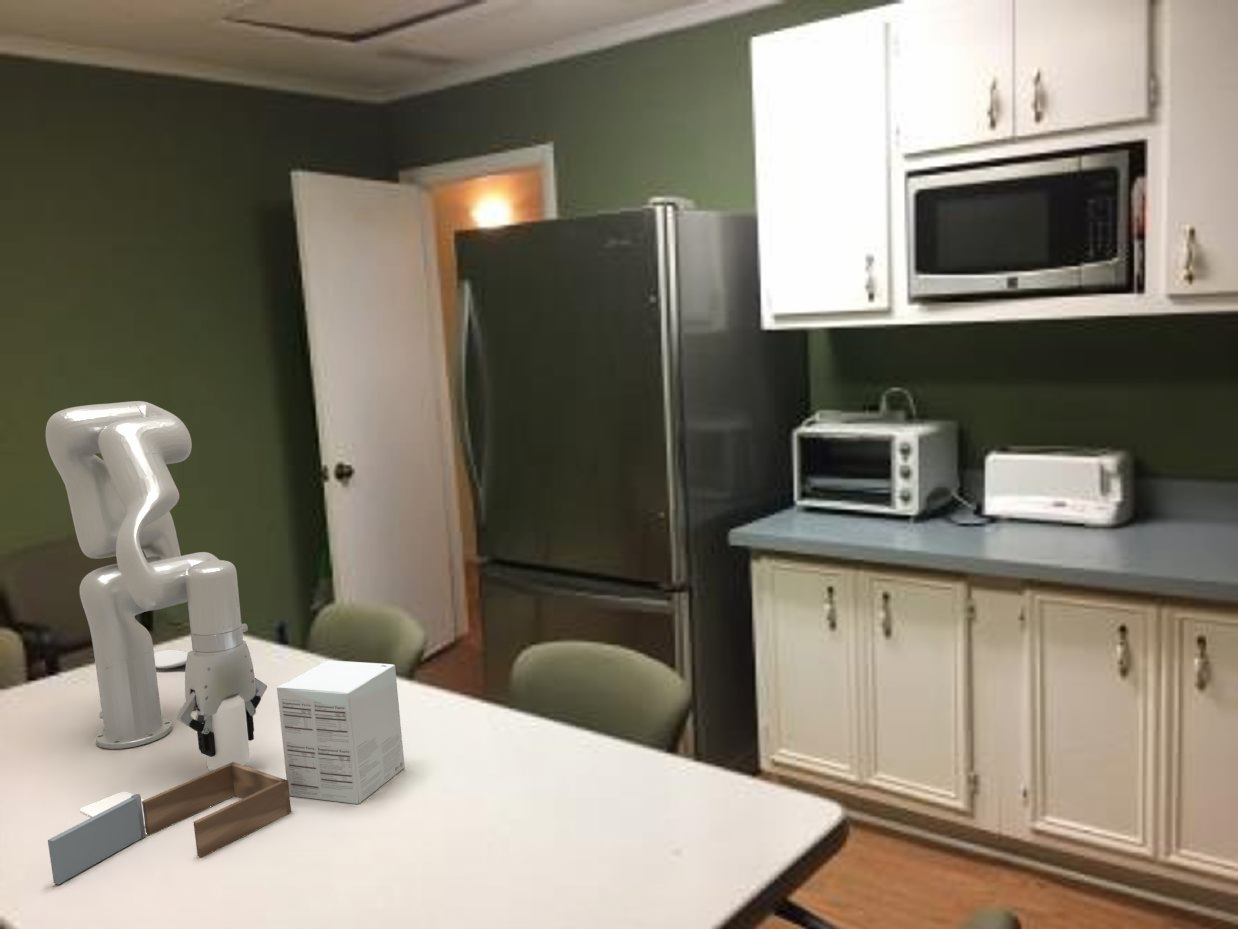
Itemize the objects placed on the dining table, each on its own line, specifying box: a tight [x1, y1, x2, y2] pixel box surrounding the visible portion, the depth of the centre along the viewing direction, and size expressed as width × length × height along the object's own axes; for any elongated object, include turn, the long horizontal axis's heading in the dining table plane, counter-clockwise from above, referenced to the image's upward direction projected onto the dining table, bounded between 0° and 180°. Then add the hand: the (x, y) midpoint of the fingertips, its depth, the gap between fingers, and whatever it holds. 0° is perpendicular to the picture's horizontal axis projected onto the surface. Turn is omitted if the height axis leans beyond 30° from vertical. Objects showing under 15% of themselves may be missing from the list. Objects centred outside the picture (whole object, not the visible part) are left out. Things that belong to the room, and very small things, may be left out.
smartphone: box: [79, 791, 145, 826], centre depth 155 cm, size 7×1×15 cm
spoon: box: [154, 649, 189, 669], centre depth 219 cm, size 9×32×4 cm, turn 48°
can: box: [203, 693, 251, 772], centre depth 164 cm, size 6×6×12 cm
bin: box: [142, 762, 292, 858], centre depth 149 cm, size 14×15×5 cm
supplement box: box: [276, 659, 406, 805], centre depth 160 cm, size 13×13×18 cm
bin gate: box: [47, 793, 147, 885], centre depth 140 cm, size 14×1×6 cm, turn 155°
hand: (227, 745), depth 165 cm, fingers closed on can, 6 cm apart
